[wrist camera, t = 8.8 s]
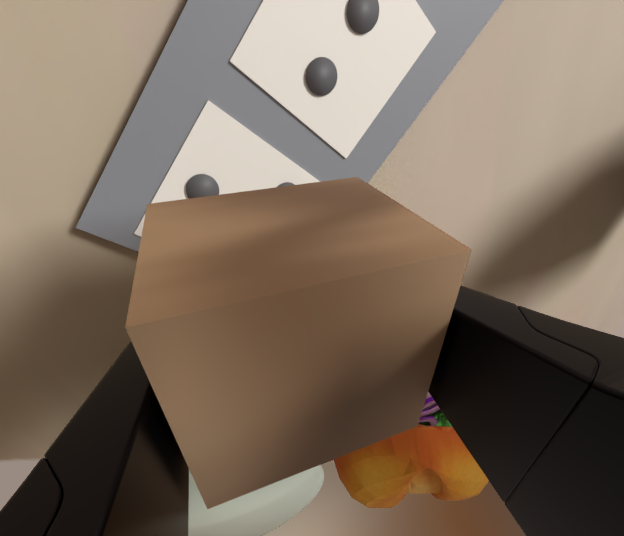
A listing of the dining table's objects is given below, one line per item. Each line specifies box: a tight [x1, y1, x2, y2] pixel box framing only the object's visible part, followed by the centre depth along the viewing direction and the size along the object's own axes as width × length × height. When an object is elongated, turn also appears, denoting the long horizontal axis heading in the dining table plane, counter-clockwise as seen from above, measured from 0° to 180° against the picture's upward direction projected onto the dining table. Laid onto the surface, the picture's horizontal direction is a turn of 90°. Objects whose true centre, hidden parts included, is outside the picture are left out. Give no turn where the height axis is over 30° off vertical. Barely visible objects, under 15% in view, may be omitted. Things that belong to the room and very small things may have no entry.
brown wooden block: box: [125, 177, 471, 509], centre depth 7 cm, size 5×5×4 cm
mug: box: [188, 465, 324, 536], centre depth 16 cm, size 9×7×7 cm
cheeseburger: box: [334, 392, 488, 508], centre depth 21 cm, size 10×11×10 cm
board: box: [76, 0, 504, 252], centre depth 11 cm, size 21×9×1 cm, turn 141°
